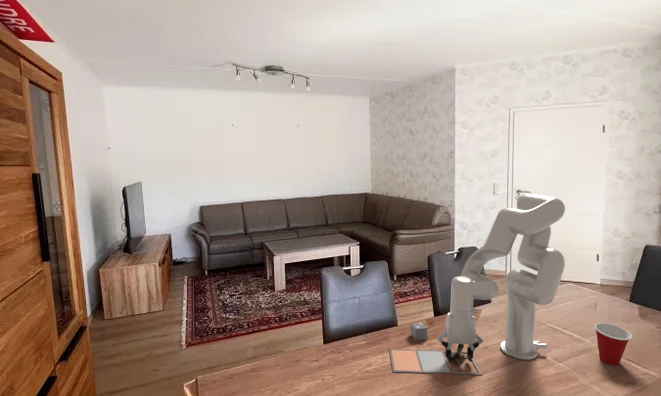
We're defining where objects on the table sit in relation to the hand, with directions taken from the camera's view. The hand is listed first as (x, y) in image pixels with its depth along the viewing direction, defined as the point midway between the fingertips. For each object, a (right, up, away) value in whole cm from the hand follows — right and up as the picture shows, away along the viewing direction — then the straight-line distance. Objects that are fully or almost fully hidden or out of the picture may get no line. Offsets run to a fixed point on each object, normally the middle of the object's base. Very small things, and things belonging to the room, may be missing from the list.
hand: (458, 358), depth 132 cm
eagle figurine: (+1, -1, +2) cm, 3 cm away
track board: (-9, -1, +1) cm, 9 cm away
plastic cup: (+55, -1, +1) cm, 55 cm away
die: (-10, +1, +19) cm, 21 cm away
